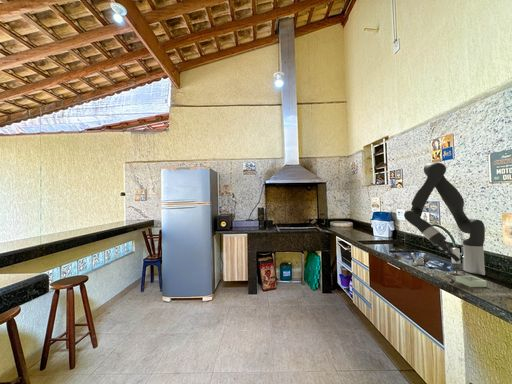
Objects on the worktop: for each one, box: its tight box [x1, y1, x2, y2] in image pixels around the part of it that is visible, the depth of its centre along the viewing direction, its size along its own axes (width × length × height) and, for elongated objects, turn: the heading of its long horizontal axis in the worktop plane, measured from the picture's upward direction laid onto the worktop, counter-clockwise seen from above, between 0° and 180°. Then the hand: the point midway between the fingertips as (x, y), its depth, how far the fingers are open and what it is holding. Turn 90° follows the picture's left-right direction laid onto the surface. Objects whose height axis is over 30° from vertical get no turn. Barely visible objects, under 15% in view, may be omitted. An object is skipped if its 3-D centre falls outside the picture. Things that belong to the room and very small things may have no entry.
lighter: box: [410, 252, 424, 266], centre depth 165 cm, size 7×2×8 cm, turn 78°
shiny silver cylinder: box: [450, 247, 463, 270], centre depth 131 cm, size 4×4×11 cm
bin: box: [455, 275, 488, 288], centre depth 122 cm, size 9×9×4 cm
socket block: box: [444, 272, 466, 282], centre depth 131 cm, size 7×7×3 cm
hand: (460, 260), depth 130 cm, fingers closed on shiny silver cylinder, 3 cm apart
